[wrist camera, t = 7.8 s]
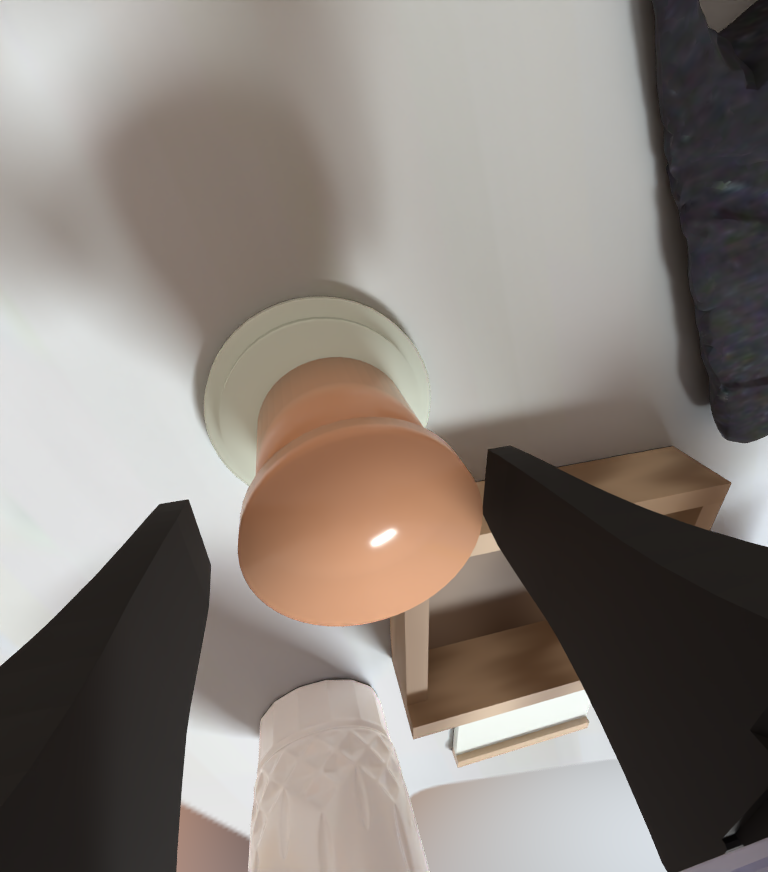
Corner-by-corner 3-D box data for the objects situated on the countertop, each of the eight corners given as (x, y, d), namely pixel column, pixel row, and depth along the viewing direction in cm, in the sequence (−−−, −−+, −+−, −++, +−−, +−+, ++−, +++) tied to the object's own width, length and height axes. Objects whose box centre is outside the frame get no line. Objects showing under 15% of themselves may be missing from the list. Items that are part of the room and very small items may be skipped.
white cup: (234, 758, 24) (218, 1059, 16) (267, 669, 21) (269, 985, 13) (363, 748, 27) (407, 999, 19) (409, 669, 24) (486, 927, 16)
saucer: (427, 285, 14) (438, 291, 13) (425, 478, 18) (433, 492, 17) (176, 308, 12) (169, 317, 12) (233, 512, 16) (231, 529, 15)
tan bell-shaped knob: (405, 330, 13) (480, 406, 9) (422, 474, 16) (484, 589, 12) (222, 370, 13) (197, 475, 8) (274, 513, 16) (277, 651, 11)
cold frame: (673, 446, 20) (755, 497, 17) (618, 602, 26) (671, 664, 22) (383, 499, 18) (411, 572, 14) (391, 659, 23) (413, 739, 20)
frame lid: (608, 628, 27) (619, 642, 26) (578, 713, 32) (587, 727, 31) (459, 668, 25) (466, 684, 24) (452, 751, 30) (457, 768, 29)
